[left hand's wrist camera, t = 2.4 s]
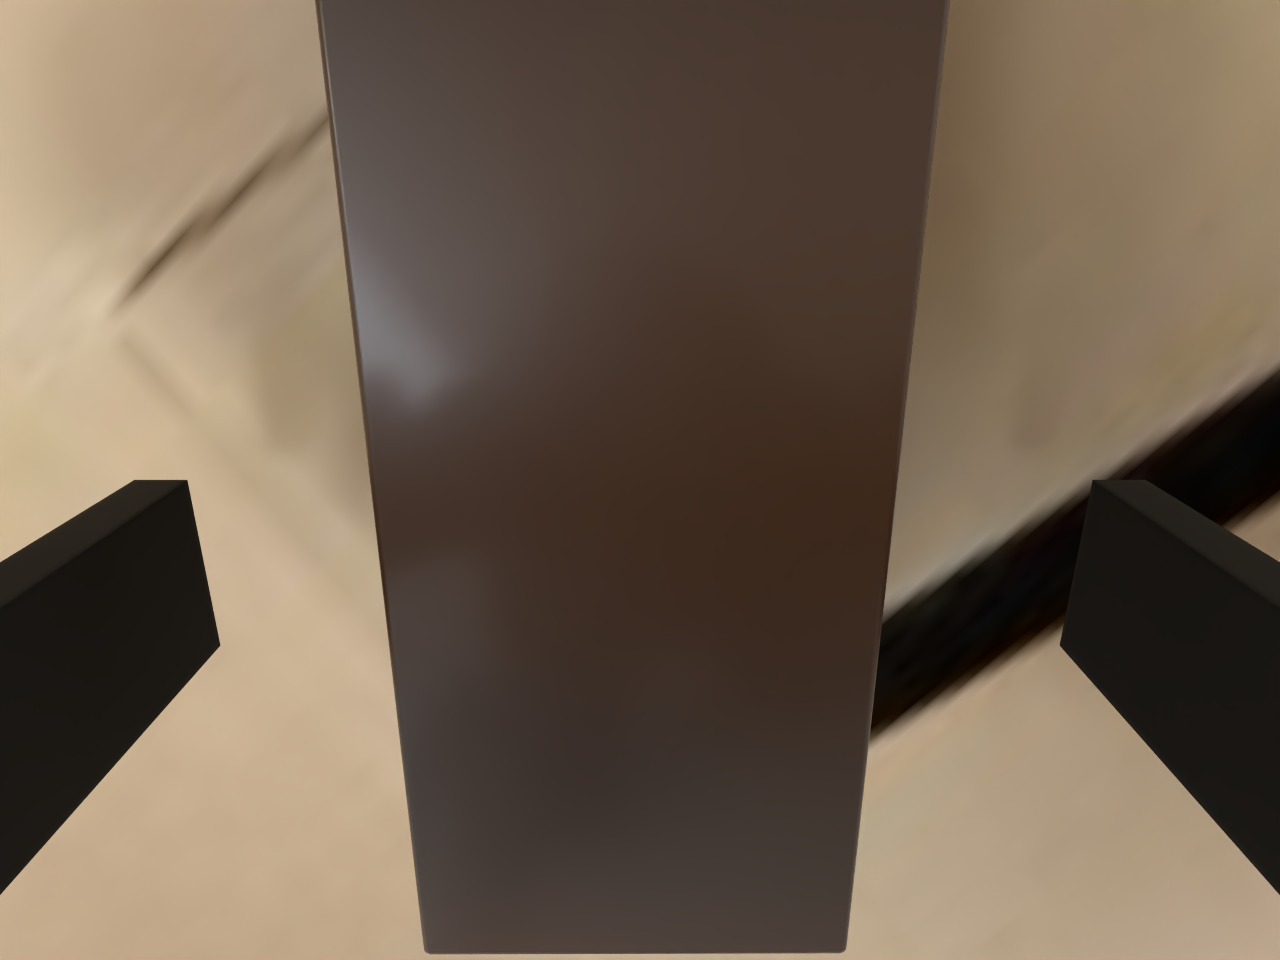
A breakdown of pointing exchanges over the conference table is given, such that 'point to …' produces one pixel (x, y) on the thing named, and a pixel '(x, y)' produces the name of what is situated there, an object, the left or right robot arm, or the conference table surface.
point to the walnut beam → (633, 444)
